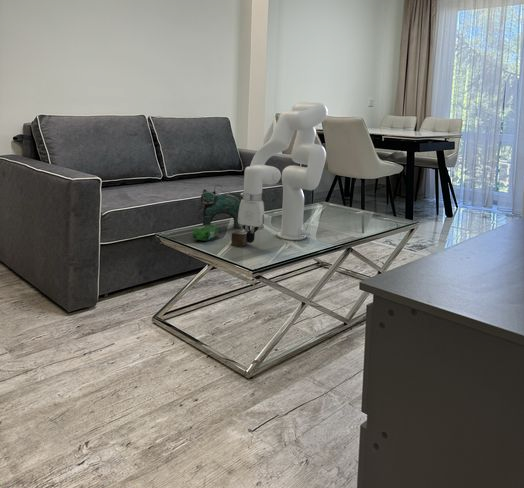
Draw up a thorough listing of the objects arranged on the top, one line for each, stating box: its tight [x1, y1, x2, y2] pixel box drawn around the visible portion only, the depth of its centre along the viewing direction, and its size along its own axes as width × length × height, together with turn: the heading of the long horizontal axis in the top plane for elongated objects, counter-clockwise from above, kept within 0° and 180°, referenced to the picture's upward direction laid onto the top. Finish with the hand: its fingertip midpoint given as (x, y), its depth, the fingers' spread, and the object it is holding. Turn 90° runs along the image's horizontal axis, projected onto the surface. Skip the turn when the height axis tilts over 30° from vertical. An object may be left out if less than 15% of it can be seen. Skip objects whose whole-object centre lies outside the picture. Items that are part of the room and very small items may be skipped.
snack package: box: [192, 224, 220, 242], centre depth 209 cm, size 7×16×5 cm, turn 160°
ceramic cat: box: [200, 184, 242, 229], centre depth 231 cm, size 20×6×20 cm, turn 99°
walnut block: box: [230, 230, 248, 248], centre depth 203 cm, size 5×5×5 cm
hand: (250, 242), depth 201 cm, fingers closed
